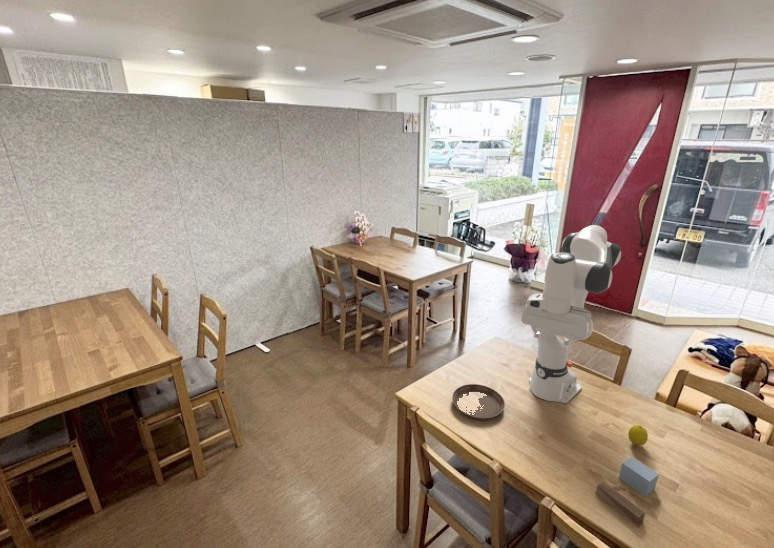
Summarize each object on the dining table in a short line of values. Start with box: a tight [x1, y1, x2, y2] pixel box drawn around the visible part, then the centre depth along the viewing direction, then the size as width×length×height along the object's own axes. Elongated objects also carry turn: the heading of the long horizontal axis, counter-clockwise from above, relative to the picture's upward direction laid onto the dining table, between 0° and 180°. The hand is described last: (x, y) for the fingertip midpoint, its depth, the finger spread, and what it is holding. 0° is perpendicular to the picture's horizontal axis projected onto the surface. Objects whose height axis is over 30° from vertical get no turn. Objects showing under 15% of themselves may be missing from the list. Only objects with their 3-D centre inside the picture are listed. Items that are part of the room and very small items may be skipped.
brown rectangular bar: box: [595, 480, 646, 528], centre depth 109 cm, size 3×12×4 cm, turn 29°
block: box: [618, 456, 660, 497], centre depth 117 cm, size 5×8×6 cm, turn 29°
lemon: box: [627, 424, 649, 446], centre depth 131 cm, size 6×6×8 cm
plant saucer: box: [452, 383, 506, 421], centre depth 153 cm, size 21×21×3 cm
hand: (551, 340), depth 126 cm, fingers open, 8 cm apart
